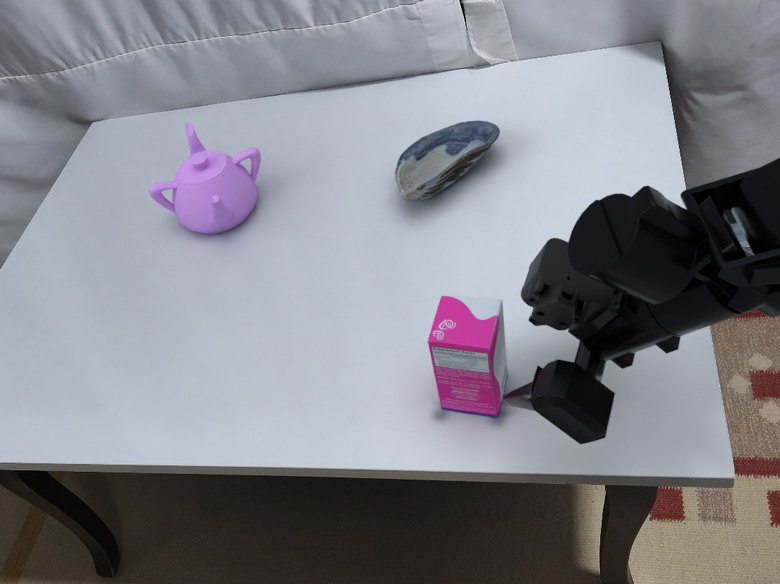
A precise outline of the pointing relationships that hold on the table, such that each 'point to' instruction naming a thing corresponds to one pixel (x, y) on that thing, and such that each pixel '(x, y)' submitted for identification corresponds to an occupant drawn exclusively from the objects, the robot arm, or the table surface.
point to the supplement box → (469, 354)
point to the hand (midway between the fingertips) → (519, 360)
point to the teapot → (211, 188)
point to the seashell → (442, 158)
